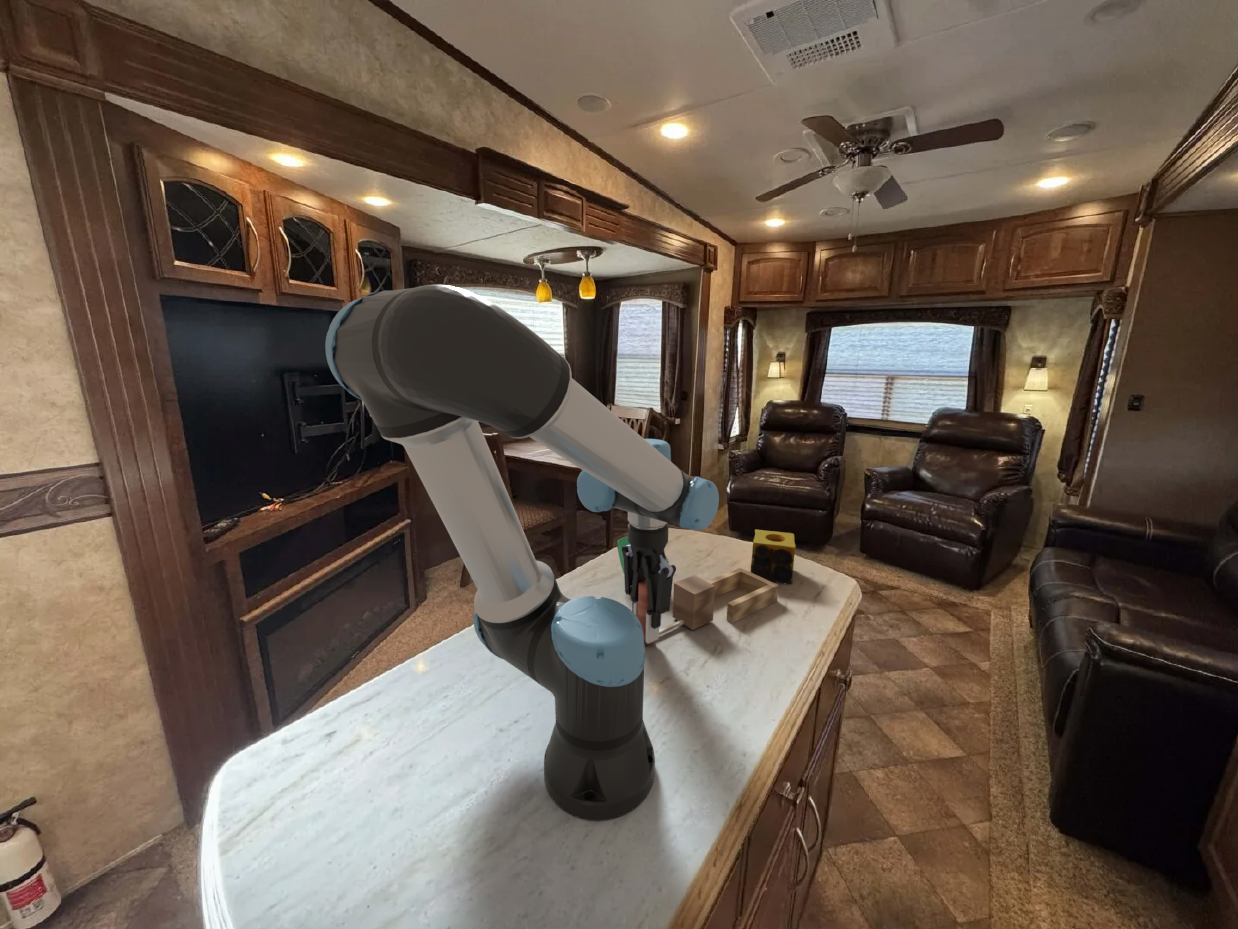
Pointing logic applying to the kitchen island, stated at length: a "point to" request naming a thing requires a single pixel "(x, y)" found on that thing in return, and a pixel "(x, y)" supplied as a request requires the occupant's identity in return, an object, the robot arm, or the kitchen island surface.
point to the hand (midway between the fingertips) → (645, 635)
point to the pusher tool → (682, 604)
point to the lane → (749, 603)
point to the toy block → (773, 556)
